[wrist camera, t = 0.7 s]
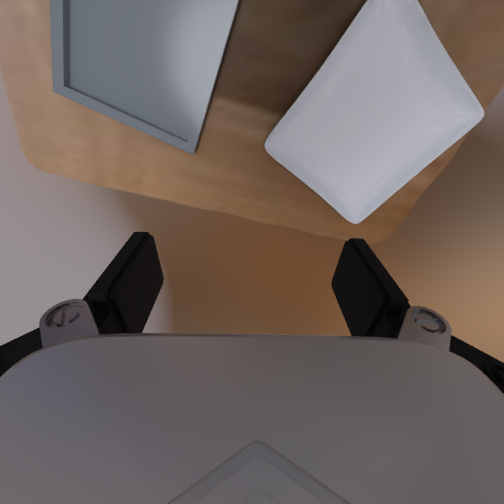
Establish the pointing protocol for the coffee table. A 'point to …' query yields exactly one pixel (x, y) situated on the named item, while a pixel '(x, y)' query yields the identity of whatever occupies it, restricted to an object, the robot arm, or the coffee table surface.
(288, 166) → the salad plate
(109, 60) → the slate dish
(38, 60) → the coffee table surface
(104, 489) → the robot arm
